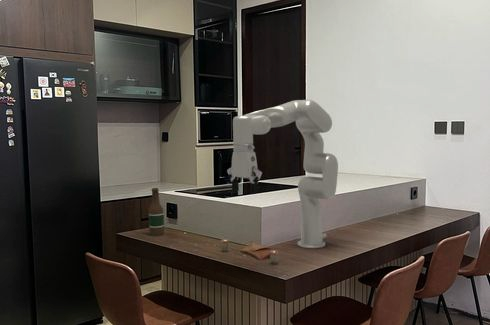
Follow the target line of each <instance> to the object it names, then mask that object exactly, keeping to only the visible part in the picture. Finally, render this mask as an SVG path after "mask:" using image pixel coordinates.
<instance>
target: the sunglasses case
mask: <svg viewBox="0 0 490 325" xmlns="http://www.w3.org/2000/svg"><path fill="white" fill-rule="evenodd" d="M270 250H274V249H273V248H271V247H267V246H265V245H261V244H260V243H259V244H258V243H256V242H254V241H250V242H249V243H248V244H247V245H246V246H245V247H243V248H242V249H240V250H239V251H238V252H240V253H243V254H245V255H247V256H250V257H252V258H254V259H257V260H259V261H266V260H270Z"/></svg>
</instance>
